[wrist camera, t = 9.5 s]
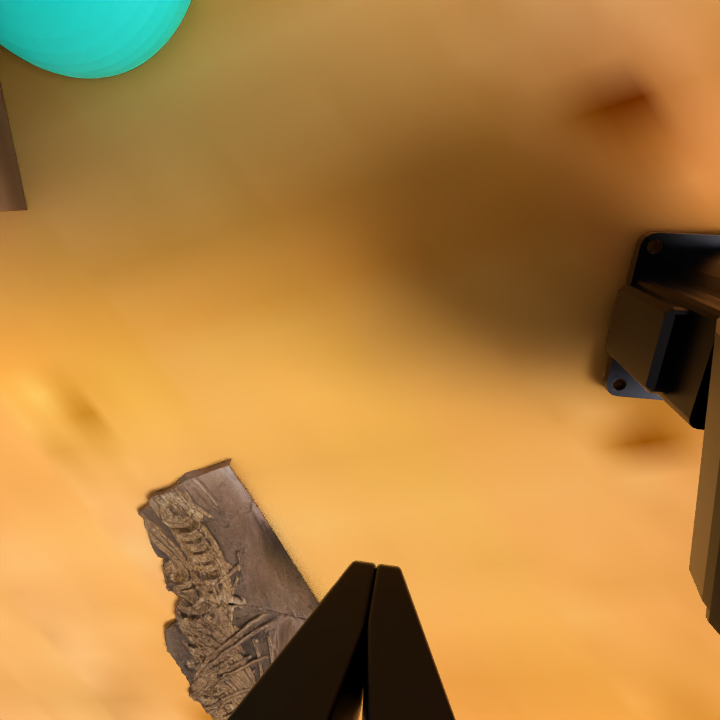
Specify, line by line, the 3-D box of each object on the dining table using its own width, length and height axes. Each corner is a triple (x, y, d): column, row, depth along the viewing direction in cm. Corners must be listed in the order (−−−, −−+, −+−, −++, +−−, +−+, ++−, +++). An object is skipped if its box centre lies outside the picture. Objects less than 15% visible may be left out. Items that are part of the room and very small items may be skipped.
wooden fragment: (129, 447, 25) (117, 458, 24) (327, 462, 23) (322, 473, 22) (196, 749, 34) (189, 765, 33) (341, 774, 32) (338, 792, 32)
